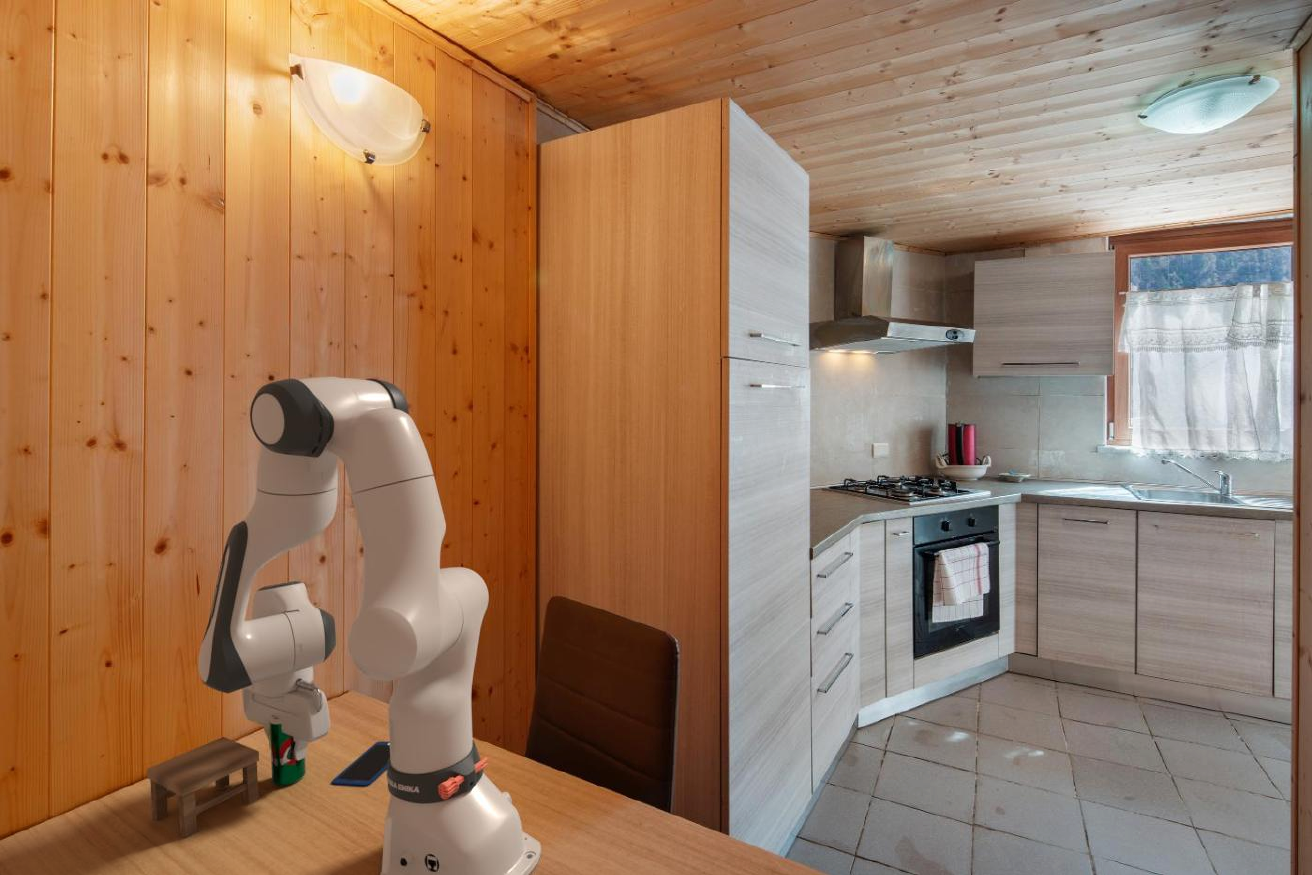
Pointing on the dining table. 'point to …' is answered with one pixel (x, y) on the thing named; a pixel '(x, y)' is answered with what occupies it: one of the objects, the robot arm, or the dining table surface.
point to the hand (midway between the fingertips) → (288, 753)
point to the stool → (202, 779)
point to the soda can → (283, 756)
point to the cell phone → (366, 767)
